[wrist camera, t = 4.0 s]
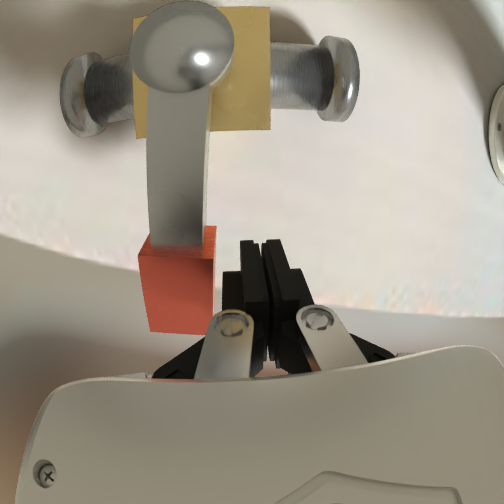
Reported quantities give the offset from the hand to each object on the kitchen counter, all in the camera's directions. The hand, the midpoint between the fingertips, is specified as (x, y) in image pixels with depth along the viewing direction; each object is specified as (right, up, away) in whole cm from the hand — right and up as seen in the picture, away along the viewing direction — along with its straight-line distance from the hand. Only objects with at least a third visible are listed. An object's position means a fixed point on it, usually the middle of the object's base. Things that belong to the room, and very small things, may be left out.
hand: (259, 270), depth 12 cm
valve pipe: (-3, +12, +4) cm, 13 cm away
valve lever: (-3, +4, -2) cm, 5 cm away
